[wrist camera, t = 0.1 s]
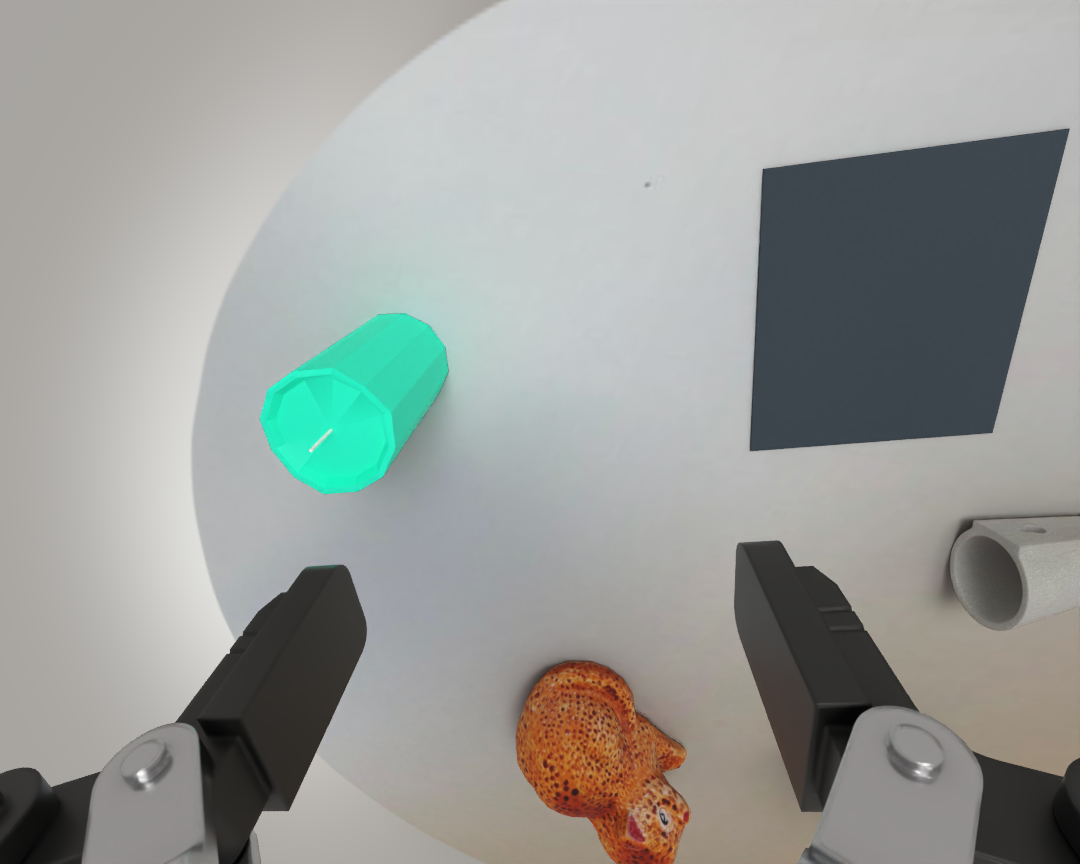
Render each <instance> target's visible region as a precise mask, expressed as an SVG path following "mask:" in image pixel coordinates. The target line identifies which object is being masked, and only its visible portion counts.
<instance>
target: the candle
mask: <svg viewBox="0 0 1080 864" xmlns="http://www.w3.org/2000/svg"><path fill="white" fill-rule="evenodd" d="M447 374H448V365H447V358H446V351H445V346H444V345H443V344H442V342H441V341H440V340H439V338H438V337H437V335H436V334H435V333H434V331H433V330H432V329H431V327H430V326H429V325H427V324H425V323H423V322H421V321H419V320H417V319H415V318H413V317H411V316H409V315H407V314H405V313H400V314H381V315H377V316H376V317H374V318H373V319H371V320H370V321H368V322H367V323H365V324H364V325H362V326H361V327H359V328H358V329H356V330H355V331H353V332H352V333H350V334H349V335H347V336H346V337H344V338H343V339H341V340H340V341H338V342H337V343H335V344H333V345H332V346H330V347H329V348H327V349H326V350H324V351H323V352H321V353H320V354H318V355H317V356H315V357H314V358H312V359H311V360H309V361H308V362H306V363H305V364H303V365H302V366H300V367H299V368H297V369H296V370H294V371H292V372H291V373H290V374H288V375H287V376H286V377H284V378H283V379H282V380H280V381H279V382H278V383H276V384H275V385H273V386H272V387H271V388H269V389H268V391H267V394H266V398H265V402H264V405H263V409H262V413H261V417H260V421H261V424H262V426H263V429H264V431H265V434H266V437H267V439H268V442H269V445H270V447H271V450H272V451H273V452H274V453H275V455H276V456H277V457H278V458H279V460H280V461H281V462H282V463H283V464H284V466H285V467H286V468H287V469H288V470H289V472H290V473H291V474H292V475H293V477H295V478H296V479H298V480H300V481H302V482H303V483H305V484H307V485H309V486H310V487H312V488H314V489H316V490H317V491H319V492H321V493H323V494H332V493H345V492H358V491H360V490H361V489H363V488H365V487H366V486H368V485H370V484H372V483H373V482H375V481H377V480H378V479H380V478H382V477H383V476H384V475H385V473H386V472H387V470H388V469H389V467H390V466H391V464H392V463H393V461H394V460H395V458H396V457H397V455H398V454H399V452H400V451H401V449H402V448H403V446H404V445H405V443H406V442H407V440H408V439H409V437H410V436H411V434H412V433H413V431H414V430H415V428H416V427H417V425H418V424H419V422H420V421H421V419H422V418H423V416H424V415H425V413H426V412H427V410H428V409H429V407H430V406H431V404H432V403H433V401H434V400H435V398H436V397H437V395H438V394H439V392H440V390H441V387H442V385H443V383H444V381H445V378H446V376H447Z"/></svg>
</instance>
